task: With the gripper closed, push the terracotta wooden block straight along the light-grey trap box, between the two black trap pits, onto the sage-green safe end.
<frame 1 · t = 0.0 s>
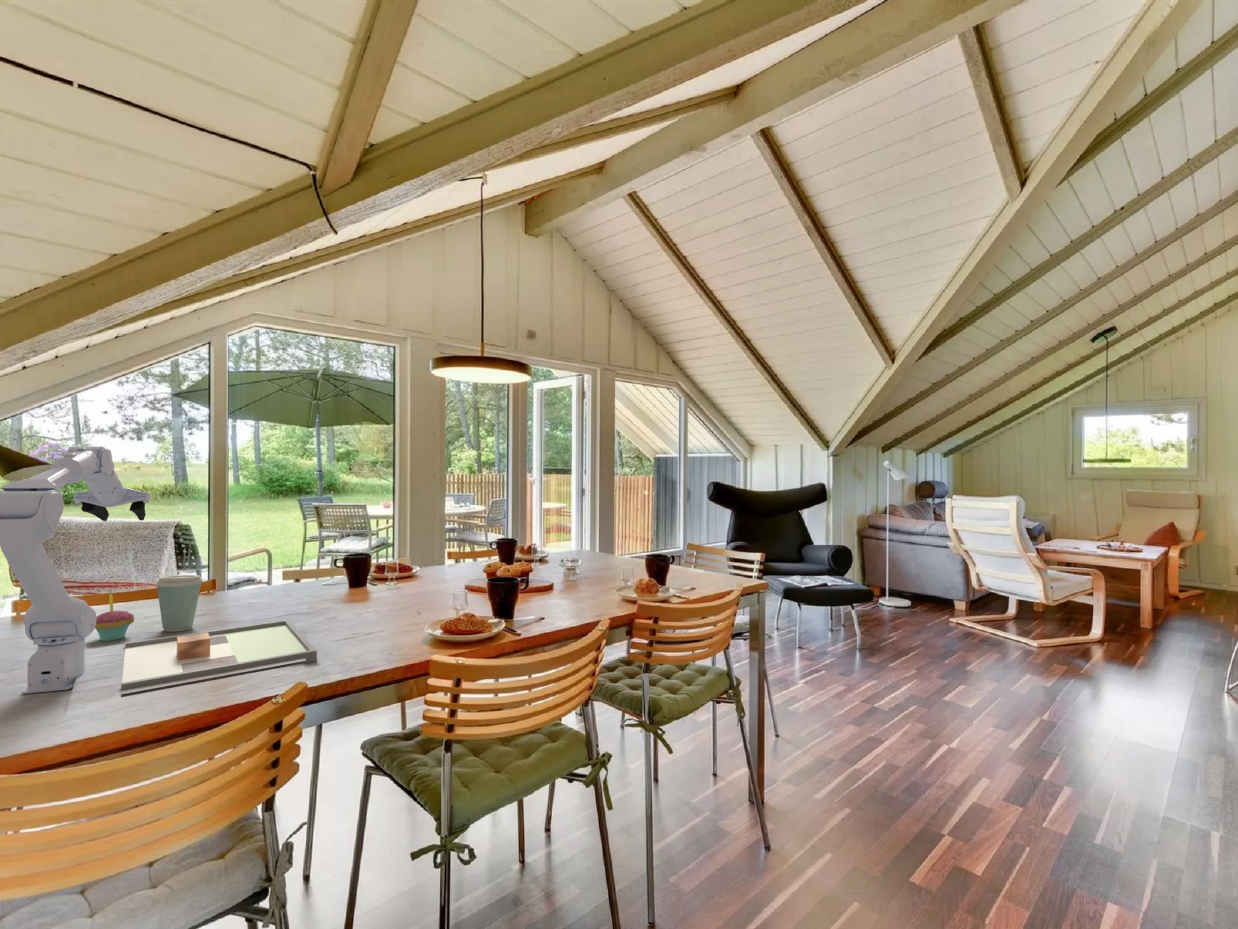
hand: (124, 517, 150), 32 cm above the table, tool tilted 50°, fingers open, 7 cm apart
block: (193, 654, 138), point 1 cm above the table, touching trap box
trap box: (216, 657, 141), on the table
disposable coffee cup: (179, 629, 164), on the table
cupcake: (113, 638, 155), on the table
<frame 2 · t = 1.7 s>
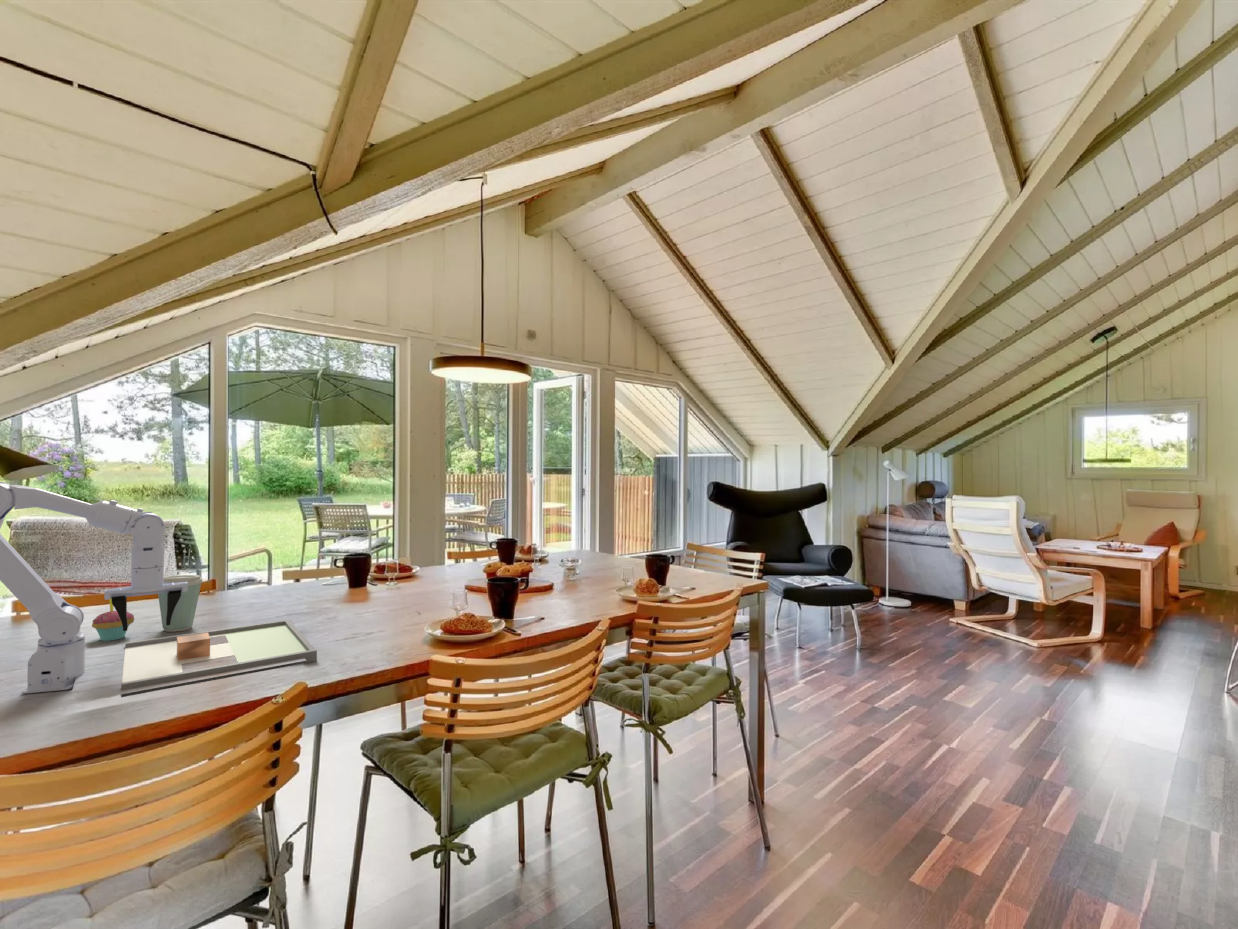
hand: (147, 627, 133), 9 cm above the table, tool pointing down, fingers open, 7 cm apart
nothing on the table moved.
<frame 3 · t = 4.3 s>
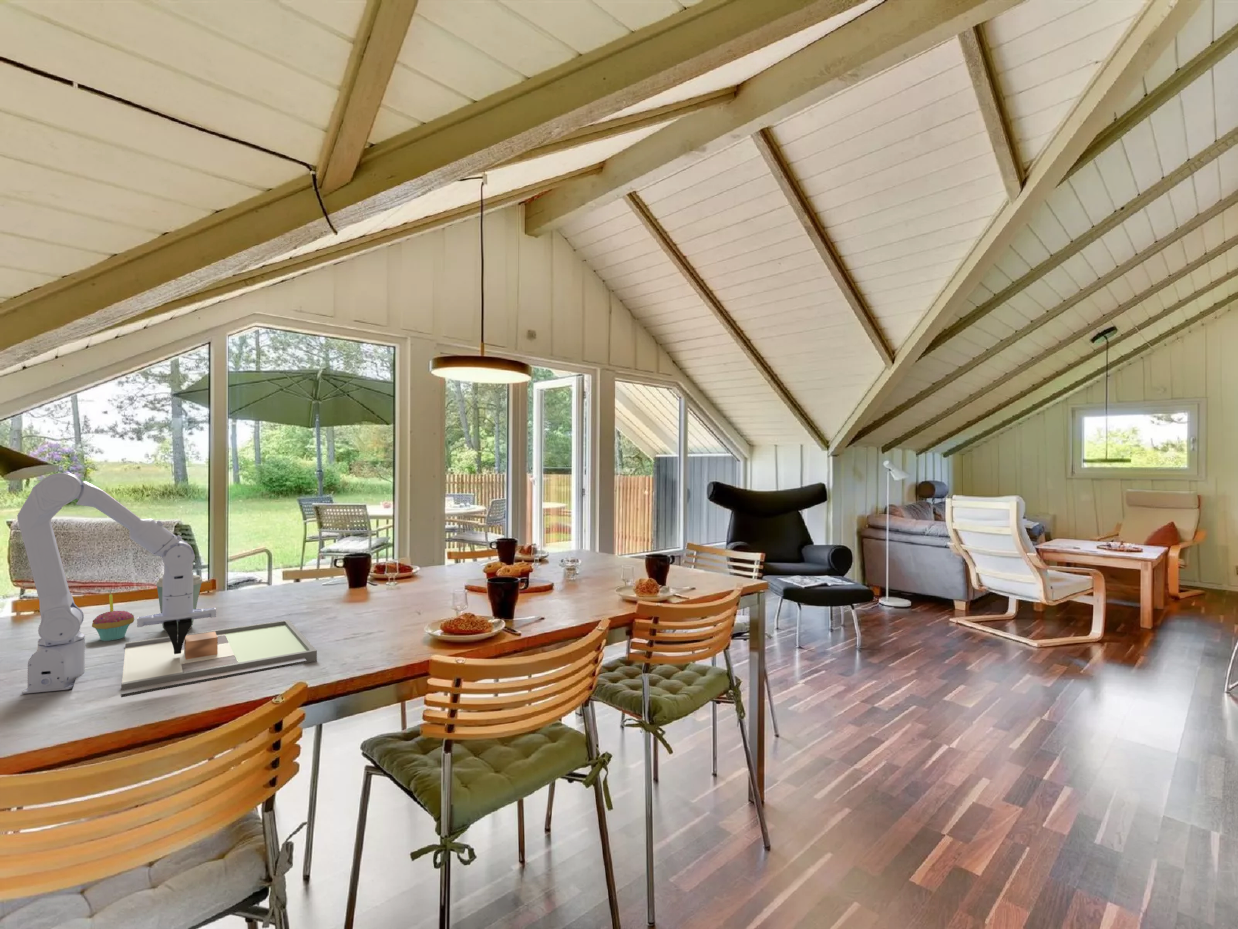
hand: (177, 652, 136), 3 cm above the table, tool pointing down, fingers closed
block: (200, 653, 139), point 2 cm above the table, touching gripper
everything else where it was.
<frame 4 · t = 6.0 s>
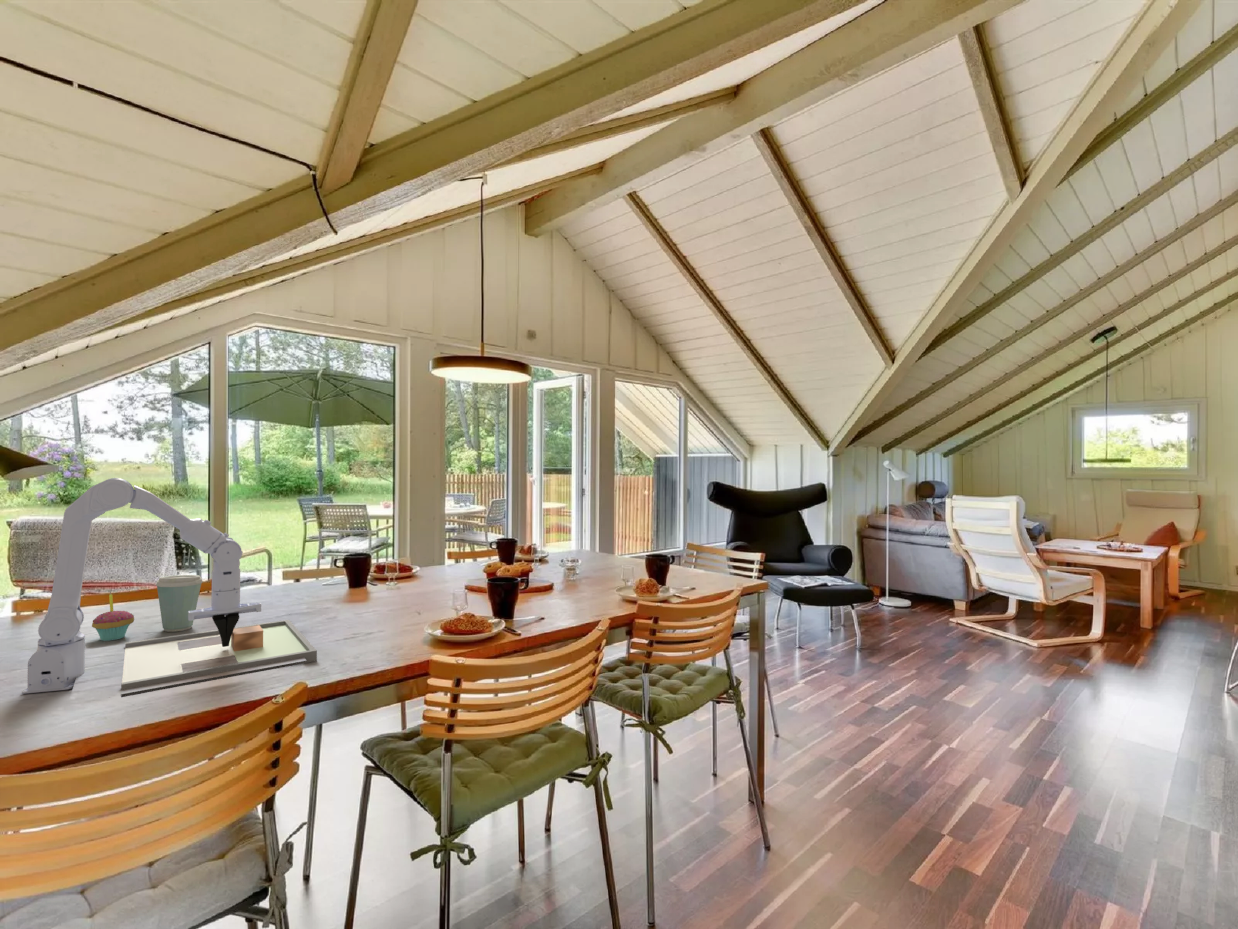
hand: (225, 645, 142), 3 cm above the table, tool pointing down, fingers closed
block: (247, 646, 145), point 1 cm above the table, touching gripper, trap box
everything else where it was.
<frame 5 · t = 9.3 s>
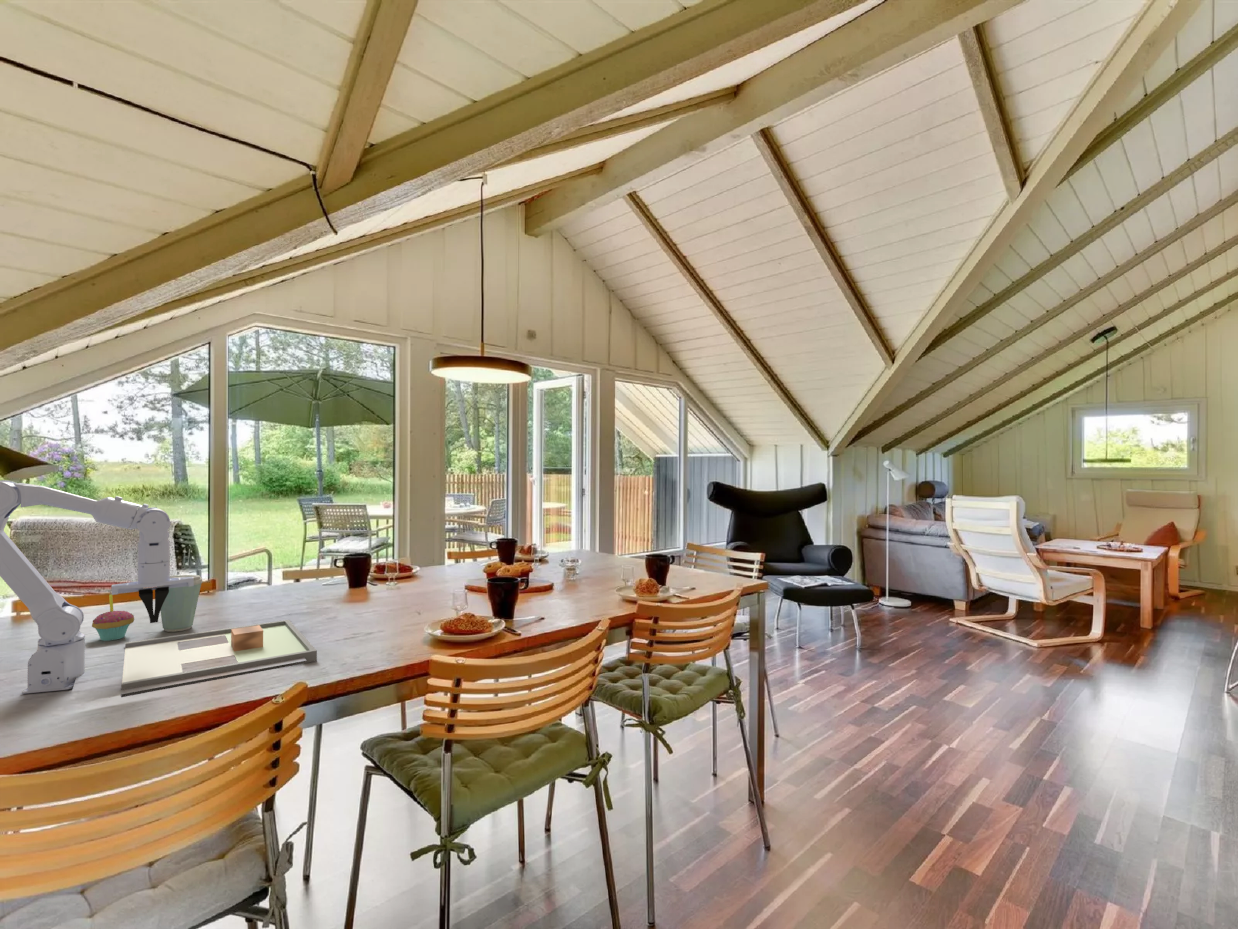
hand: (154, 621, 133), 10 cm above the table, tool pointing down, fingers closed
block: (247, 646, 145), point 1 cm above the table, touching trap box
everything else where it was.
at the end: block inside the target area (1.1 cm from its centre), point 1.5 cm above the table; block tilted 0° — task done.
